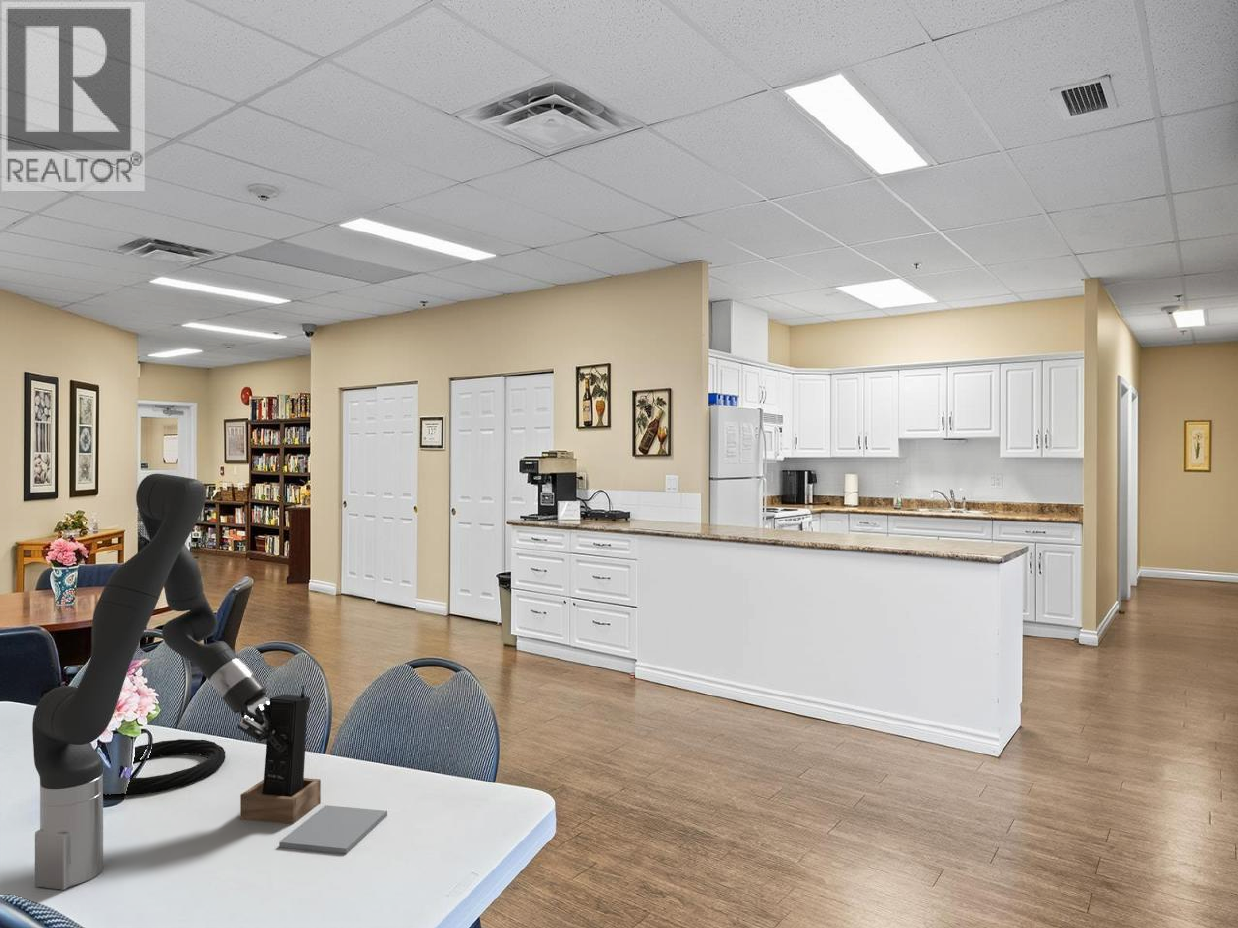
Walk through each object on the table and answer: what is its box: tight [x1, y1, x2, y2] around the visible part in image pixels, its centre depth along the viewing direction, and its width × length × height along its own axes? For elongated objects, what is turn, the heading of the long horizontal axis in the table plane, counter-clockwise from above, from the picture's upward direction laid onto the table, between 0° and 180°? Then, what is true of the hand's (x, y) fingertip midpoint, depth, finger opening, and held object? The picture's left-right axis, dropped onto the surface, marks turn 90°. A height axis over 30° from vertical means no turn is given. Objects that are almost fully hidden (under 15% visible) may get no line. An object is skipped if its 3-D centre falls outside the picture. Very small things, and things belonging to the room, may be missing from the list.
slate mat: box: [278, 804, 388, 855], centre depth 156 cm, size 16×14×1 cm
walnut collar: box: [239, 777, 322, 825], centre depth 164 cm, size 10×12×5 cm
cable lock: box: [125, 738, 226, 796], centre depth 184 cm, size 28×4×30 cm
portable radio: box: [262, 685, 311, 797], centre depth 166 cm, size 8×6×25 cm
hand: (289, 746), depth 164 cm, fingers closed on portable radio, 2 cm apart
